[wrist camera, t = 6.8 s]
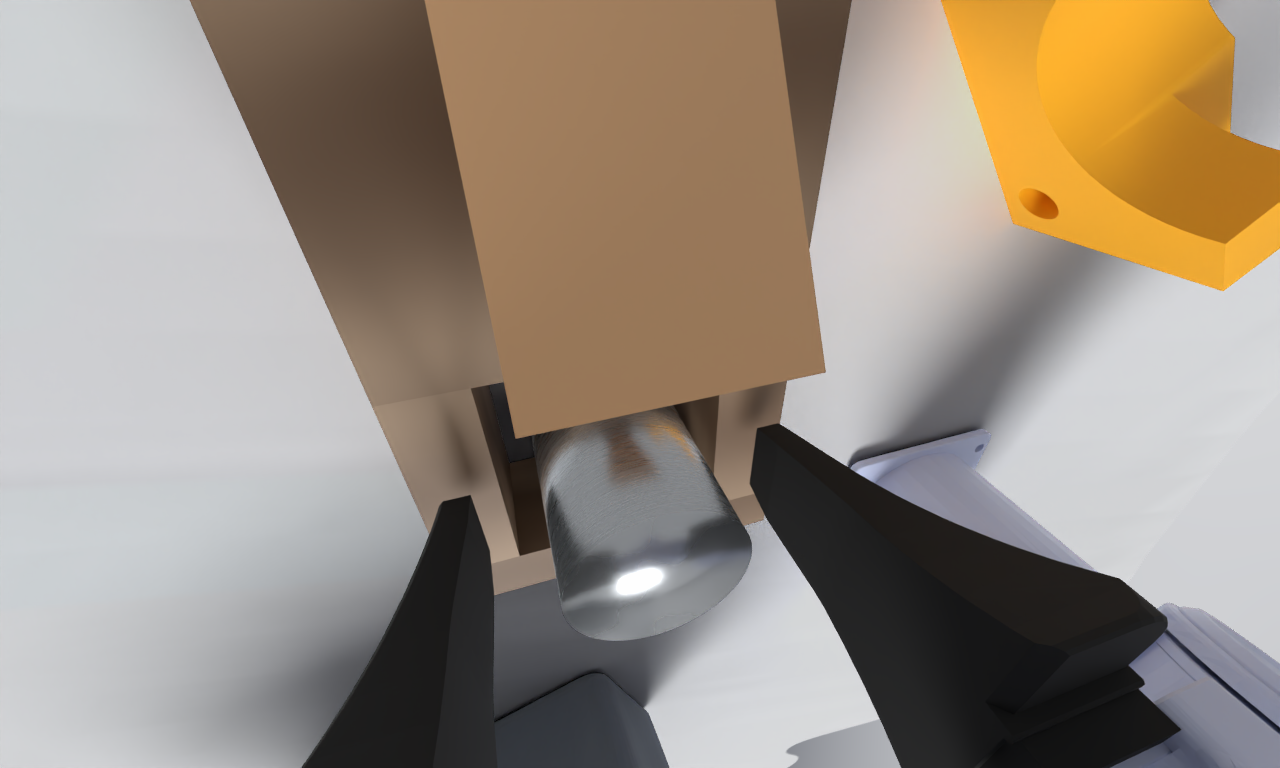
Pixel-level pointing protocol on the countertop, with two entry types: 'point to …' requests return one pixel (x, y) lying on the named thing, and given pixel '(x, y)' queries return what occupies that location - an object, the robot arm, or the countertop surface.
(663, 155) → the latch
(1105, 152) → the pipe clamp
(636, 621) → the peg
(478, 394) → the wooden box
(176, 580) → the countertop surface
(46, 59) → the countertop surface
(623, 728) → the storage bin
